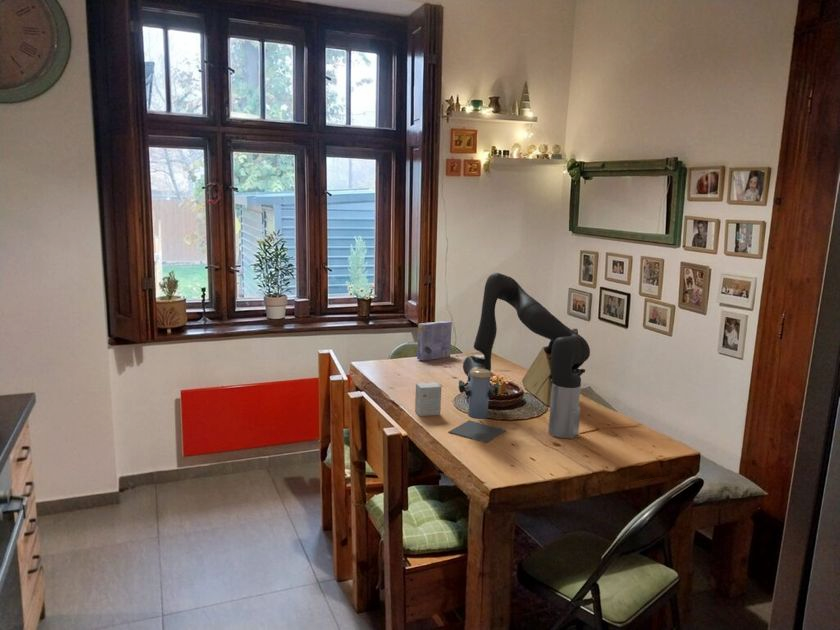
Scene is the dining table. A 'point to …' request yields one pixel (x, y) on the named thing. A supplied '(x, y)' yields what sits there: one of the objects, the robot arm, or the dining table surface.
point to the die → (479, 356)
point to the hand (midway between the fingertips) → (479, 394)
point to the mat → (477, 431)
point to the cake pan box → (434, 340)
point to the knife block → (544, 374)
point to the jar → (479, 393)
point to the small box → (428, 399)
